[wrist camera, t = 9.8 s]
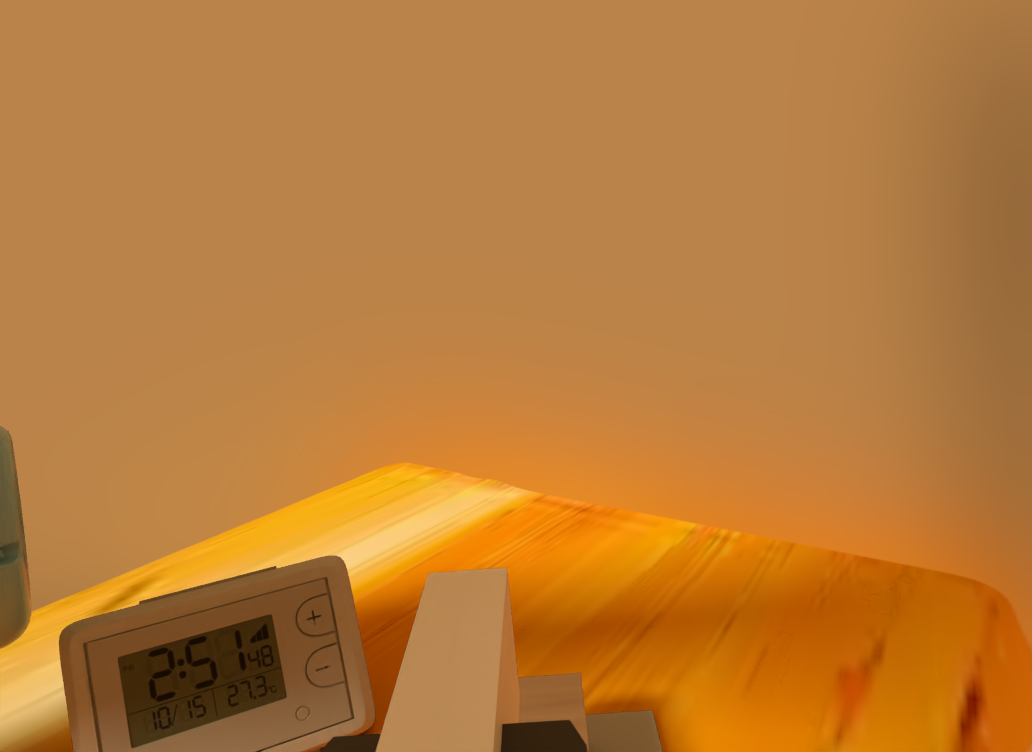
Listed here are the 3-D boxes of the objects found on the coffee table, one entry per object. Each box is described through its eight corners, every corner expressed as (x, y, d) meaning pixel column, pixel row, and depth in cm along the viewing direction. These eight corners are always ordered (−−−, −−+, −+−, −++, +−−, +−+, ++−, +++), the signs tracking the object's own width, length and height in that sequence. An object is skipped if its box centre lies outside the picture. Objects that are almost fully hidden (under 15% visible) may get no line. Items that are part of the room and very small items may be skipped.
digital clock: (69, 847, 37) (21, 667, 35) (126, 733, 46) (90, 584, 44) (378, 773, 40) (351, 604, 38) (377, 680, 49) (354, 537, 47)
